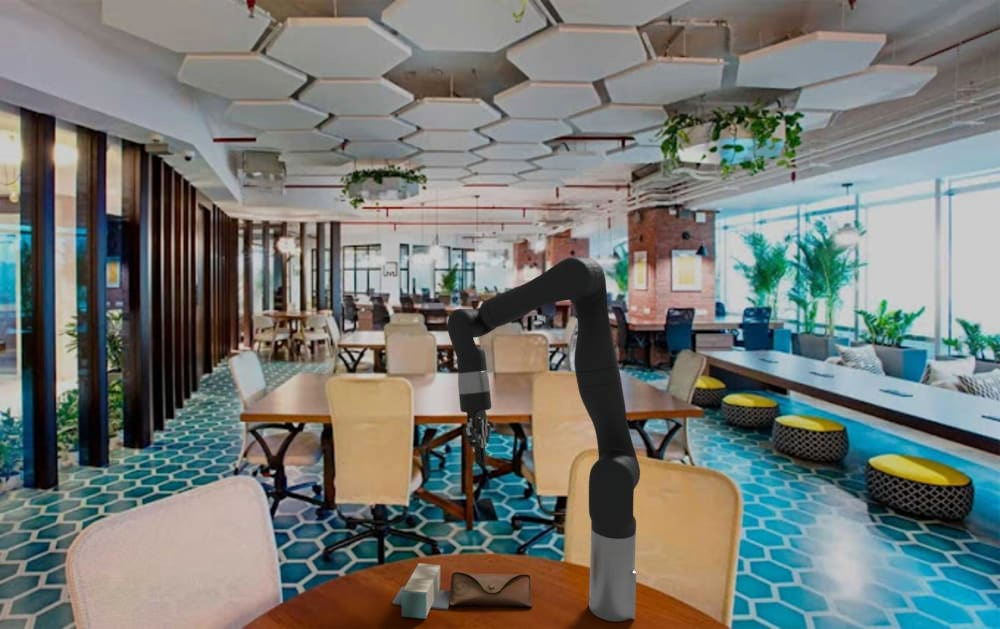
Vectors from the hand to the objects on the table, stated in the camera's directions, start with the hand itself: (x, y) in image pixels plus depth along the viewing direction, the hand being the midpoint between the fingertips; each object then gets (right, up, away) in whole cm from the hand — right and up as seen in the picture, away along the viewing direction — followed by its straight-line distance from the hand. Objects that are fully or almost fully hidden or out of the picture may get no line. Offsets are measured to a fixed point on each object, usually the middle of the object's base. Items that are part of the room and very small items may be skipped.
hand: (481, 463), depth 131 cm
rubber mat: (-12, -26, -12) cm, 31 cm away
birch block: (-11, -23, -8) cm, 27 cm away
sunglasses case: (+2, -26, -11) cm, 29 cm away
